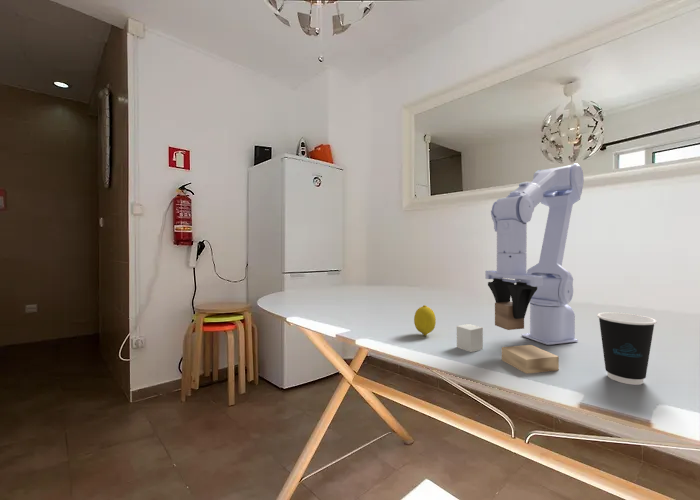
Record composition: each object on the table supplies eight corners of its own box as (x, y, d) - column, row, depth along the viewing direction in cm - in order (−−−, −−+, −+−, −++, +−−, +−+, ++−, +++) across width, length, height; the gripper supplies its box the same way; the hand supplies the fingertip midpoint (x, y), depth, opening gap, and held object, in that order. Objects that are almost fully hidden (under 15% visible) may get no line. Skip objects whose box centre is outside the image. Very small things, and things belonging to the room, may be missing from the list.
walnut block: (510, 323, 71) (510, 301, 71) (524, 328, 67) (524, 305, 67) (494, 325, 70) (494, 302, 70) (508, 330, 66) (507, 306, 66)
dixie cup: (627, 369, 60) (627, 311, 60) (669, 388, 53) (670, 322, 52) (585, 370, 60) (586, 312, 60) (622, 389, 52) (622, 323, 52)
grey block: (468, 344, 76) (468, 323, 76) (482, 349, 73) (482, 327, 73) (456, 347, 74) (456, 326, 74) (470, 352, 71) (470, 330, 71)
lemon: (436, 339, 81) (436, 307, 80) (414, 338, 82) (413, 307, 82) (435, 332, 86) (434, 303, 86) (414, 332, 87) (414, 302, 87)
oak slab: (531, 358, 67) (531, 344, 67) (558, 372, 61) (558, 356, 60) (501, 361, 66) (501, 347, 66) (526, 375, 59) (526, 359, 59)
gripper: (474, 252, 75) (474, 310, 75) (521, 254, 60) (521, 325, 61) (499, 251, 76) (499, 308, 77) (551, 253, 62) (551, 322, 62)
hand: (511, 315), depth 69 cm, fingers closed on walnut block, 4 cm apart
